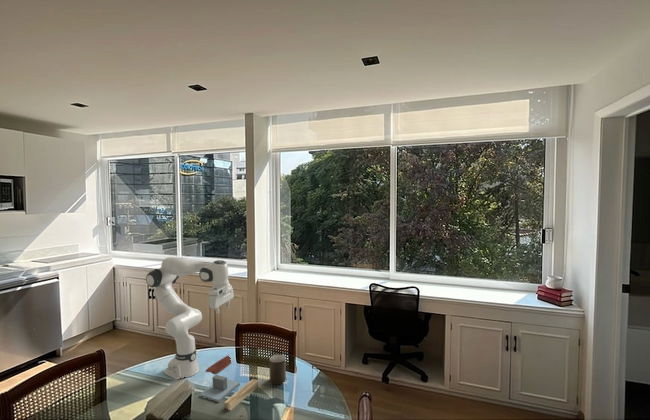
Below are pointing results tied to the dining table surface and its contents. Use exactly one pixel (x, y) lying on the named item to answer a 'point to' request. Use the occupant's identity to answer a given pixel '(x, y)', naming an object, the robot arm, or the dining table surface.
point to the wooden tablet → (219, 365)
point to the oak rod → (241, 394)
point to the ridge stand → (220, 388)
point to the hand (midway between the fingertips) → (222, 310)
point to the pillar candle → (277, 369)
